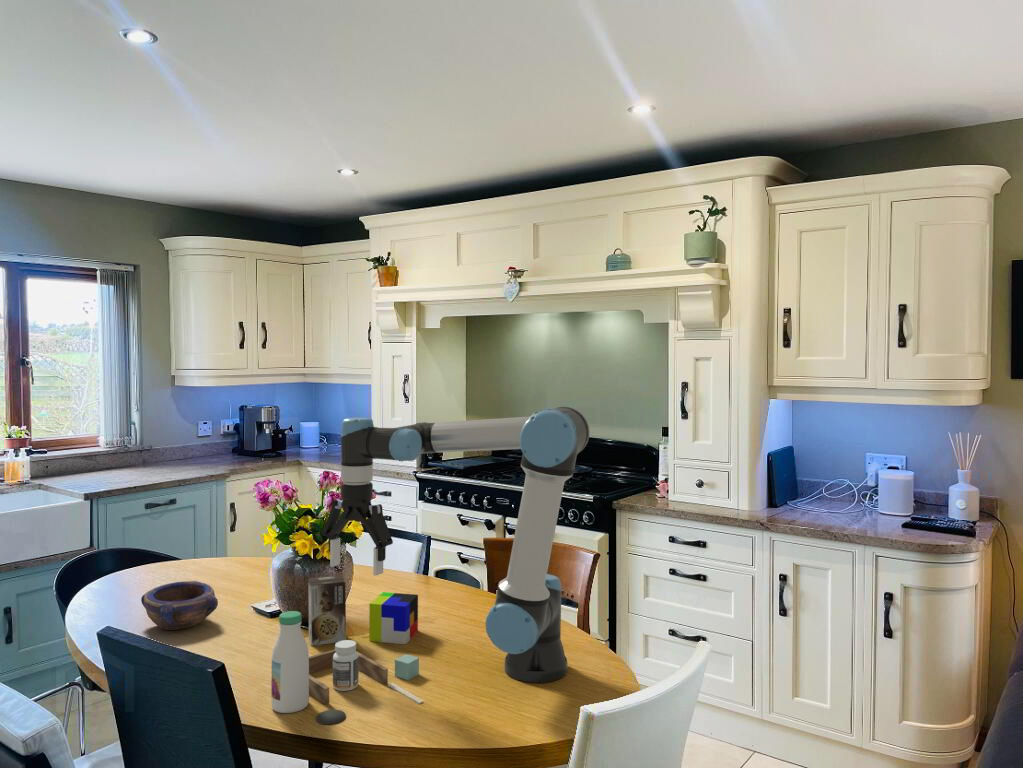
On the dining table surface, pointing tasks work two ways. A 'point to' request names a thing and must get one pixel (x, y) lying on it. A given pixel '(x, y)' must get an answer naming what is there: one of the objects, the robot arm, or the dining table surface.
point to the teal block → (406, 667)
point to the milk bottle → (290, 666)
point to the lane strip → (405, 693)
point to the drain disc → (330, 717)
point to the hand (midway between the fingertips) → (356, 569)
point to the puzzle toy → (393, 618)
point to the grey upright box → (327, 610)
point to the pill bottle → (345, 666)
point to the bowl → (179, 604)
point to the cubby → (326, 660)
